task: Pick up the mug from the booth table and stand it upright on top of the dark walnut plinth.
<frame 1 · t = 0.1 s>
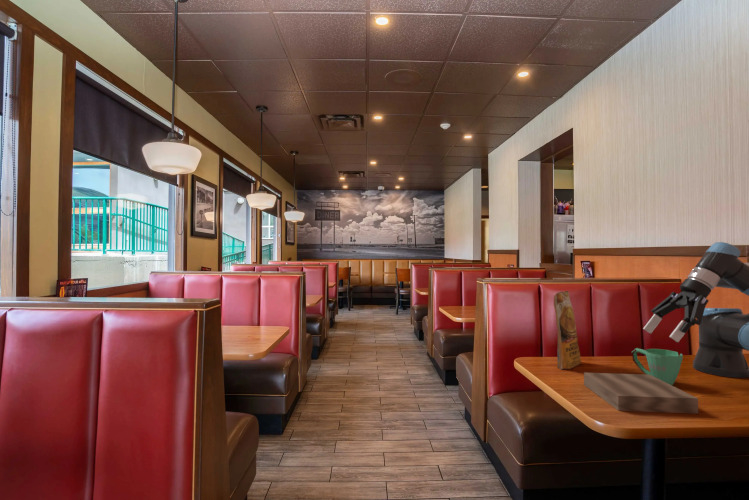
hand: (659, 335, 125), 15 cm above the table, tool tilted 35°, fingers open, 13 cm apart
plinth: (635, 397, 110), on the table
mug: (655, 381, 125), on the table
pancake mix bag: (567, 365, 143), on the table
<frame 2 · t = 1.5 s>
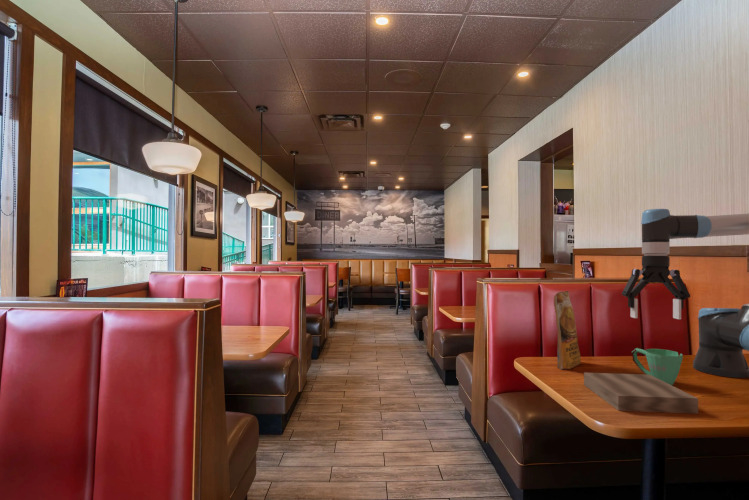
hand: (655, 318, 125), 21 cm above the table, tool pointing down, fingers open, 13 cm apart
nothing on the table moved.
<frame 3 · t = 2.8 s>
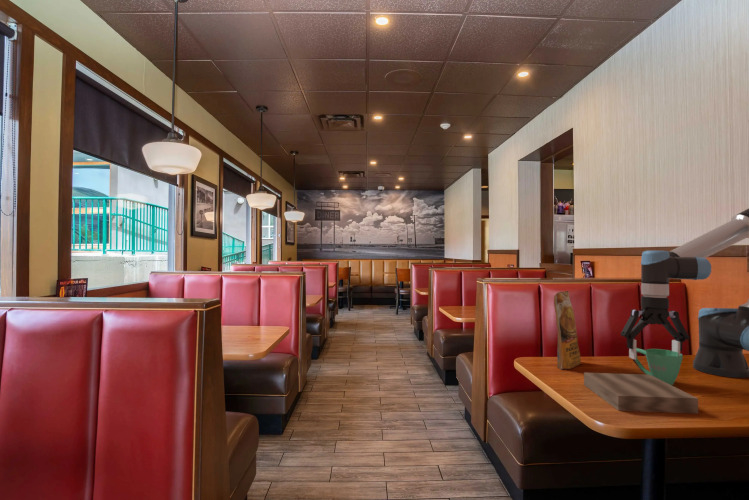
hand: (654, 359, 125), 7 cm above the table, tool pointing down, fingers open, 13 cm apart
nothing on the table moved.
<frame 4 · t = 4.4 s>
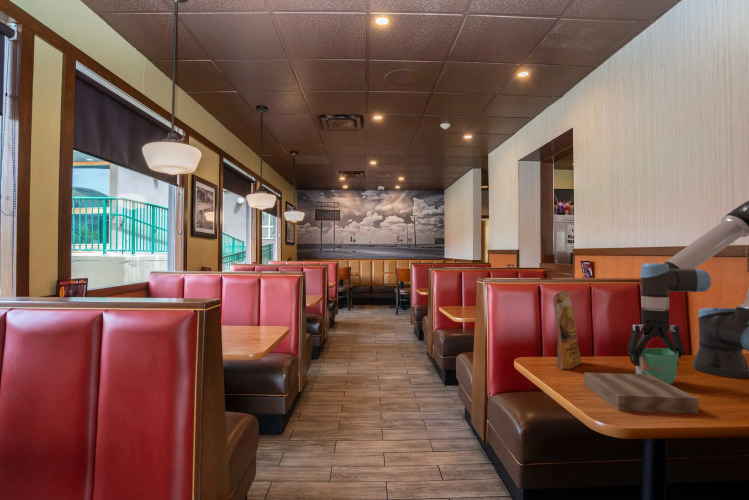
hand: (655, 375, 125), 2 cm above the table, tool pointing down, fingers closed on mug, 10 cm apart
mug: (655, 380, 125), on the table, touching gripper
everything else where it was.
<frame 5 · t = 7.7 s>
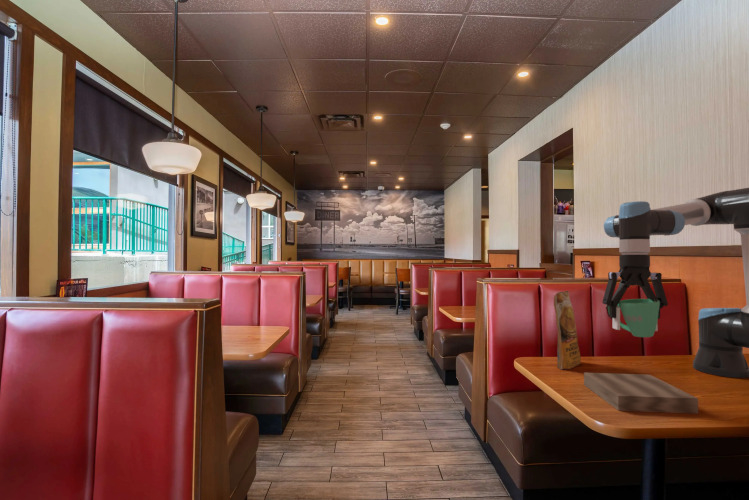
hand: (634, 329, 110), 20 cm above the table, tool pointing down, fingers closed on mug, 10 cm apart
mug: (634, 335, 110), point 18 cm above the table, touching gripper
everything else where it was.
when the fingers open (6 cm above the table, at t = 11.2 s): mug stays where it is, resting on plinth.
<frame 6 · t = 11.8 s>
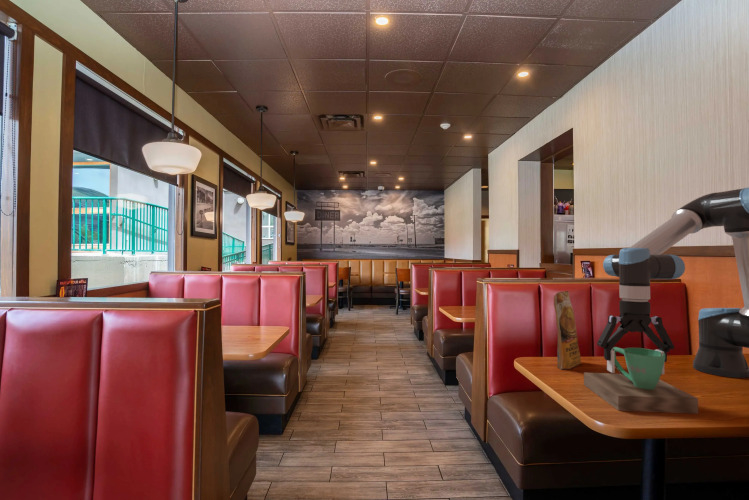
hand: (635, 372, 110), 8 cm above the table, tool pointing down, fingers open, 13 cm apart
mug: (635, 384, 110), point 4 cm above the table, touching plinth
everything else where it was.
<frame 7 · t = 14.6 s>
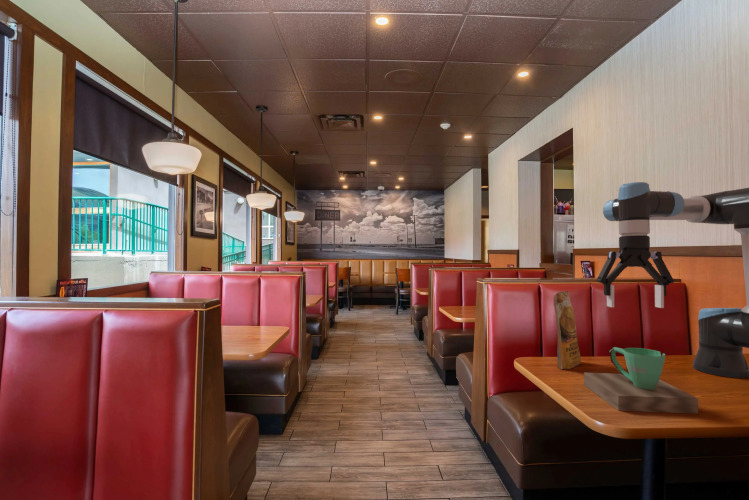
hand: (634, 307, 110), 27 cm above the table, tool pointing down, fingers open, 13 cm apart
nothing on the table moved.
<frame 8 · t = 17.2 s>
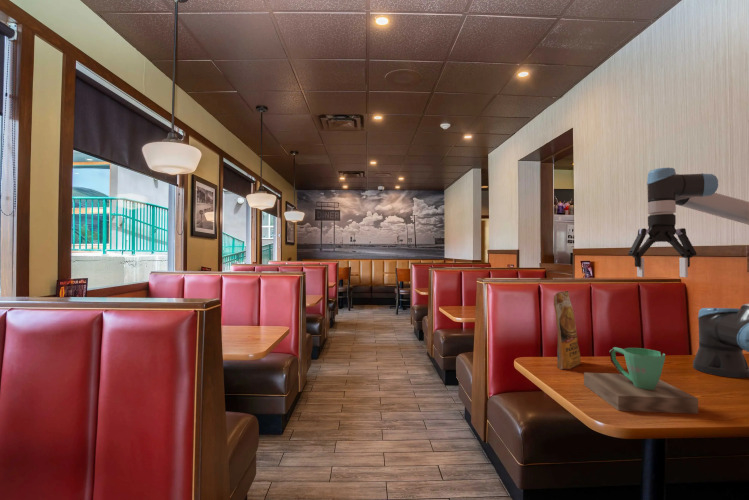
hand: (662, 277, 126), 35 cm above the table, tool pointing down, fingers open, 13 cm apart
nothing on the table moved.
at the end: mug inside the target area on the plinth (0.2 cm from its centre), point 3.8 cm above the plinth's base; mug tilted 0°; the gripper is holding nothing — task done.
